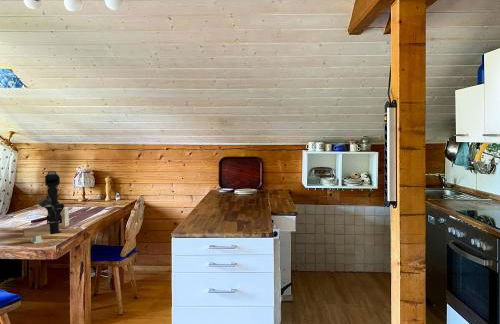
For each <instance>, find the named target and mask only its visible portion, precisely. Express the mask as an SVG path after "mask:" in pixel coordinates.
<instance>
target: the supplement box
mask: <svg viewBox="0 0 500 324" xmlns="http://www.w3.org/2000/svg"><path fill="white" fill-rule="evenodd" d="M60 214H61V216H62V223H59V228H60V227H64V228H66V227H69V225H70V217H69V216H70V215H69V214H70V213H69V207H64V208H63V209H62V211H61V213H60Z"/></svg>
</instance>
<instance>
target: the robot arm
mask: <svg viewBox="0 0 500 324" xmlns="http://www.w3.org/2000/svg"><path fill="white" fill-rule="evenodd" d="M44 178H45V179H44V181H45V182H44V183H45V185H44V186H46V188H47V189H46V191H47V195H46V196H45V198H43V199H41V200H39V201H37V204H38V206H39V207H40V208H44V209H45V210H46V211H47V214H46V225H49V226H50V234H49V235H54V234H60V233H62V231H61V230H60V227H59V223H62V216H61V214H60V213H61V211H62V209H63V208H65V204H64V203H63V202H60V201H59V198H60V195H59V192H58V189H59V188H58V187H59V185H60V184H61V180H60V179H61V177H60V175H59V174H58V173H57V171H55V170H49V171H47V174H46V175H45V177H44Z"/></svg>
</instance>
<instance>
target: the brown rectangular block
mask: <svg viewBox="0 0 500 324" xmlns="http://www.w3.org/2000/svg"><path fill="white" fill-rule="evenodd" d="M45 235H51V234H50V226H49V224H48V225H47V224H46V225H40V226H39V225H38V226H32V227H27V228H26V227H24V228H22V238H24V239H27V238H33V237H34V236H41V237H42V236H45Z"/></svg>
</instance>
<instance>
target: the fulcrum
mask: <svg viewBox="0 0 500 324" xmlns="http://www.w3.org/2000/svg"><path fill="white" fill-rule="evenodd" d="M30 242H31V243H33V244H38V243H43V242H44V240H43V239H42V235H41V236H34V237H32V239H31V240H30Z"/></svg>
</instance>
